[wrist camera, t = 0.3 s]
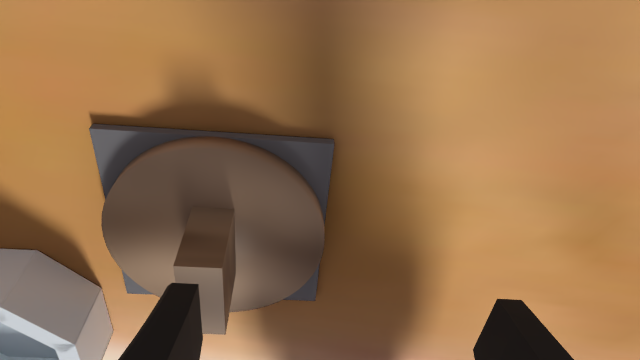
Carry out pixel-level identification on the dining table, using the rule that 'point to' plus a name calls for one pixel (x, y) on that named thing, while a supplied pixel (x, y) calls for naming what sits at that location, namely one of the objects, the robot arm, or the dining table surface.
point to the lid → (215, 224)
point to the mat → (130, 141)
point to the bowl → (49, 310)
